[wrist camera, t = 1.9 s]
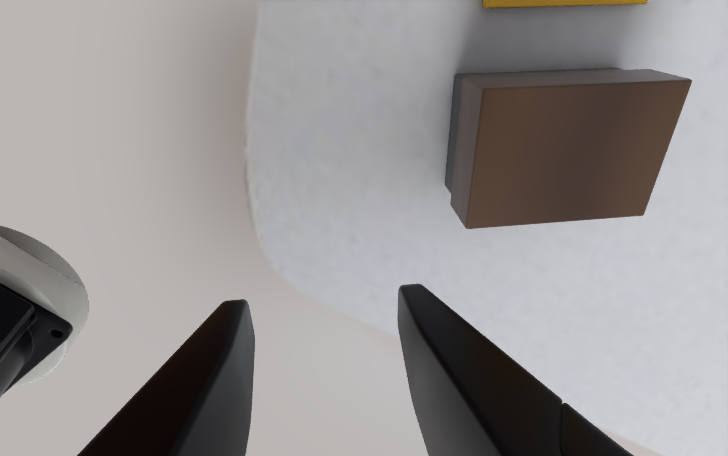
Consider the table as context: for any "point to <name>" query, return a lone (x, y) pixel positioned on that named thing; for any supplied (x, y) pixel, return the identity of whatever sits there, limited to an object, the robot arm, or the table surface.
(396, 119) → the table surface
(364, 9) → the table surface
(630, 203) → the brown rectangular block
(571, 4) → the cloth
